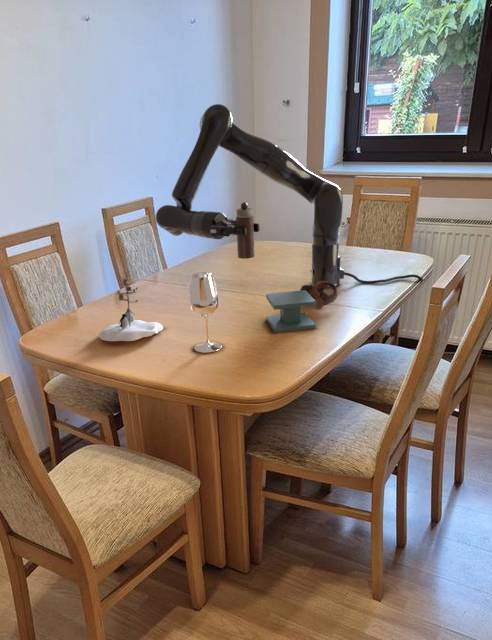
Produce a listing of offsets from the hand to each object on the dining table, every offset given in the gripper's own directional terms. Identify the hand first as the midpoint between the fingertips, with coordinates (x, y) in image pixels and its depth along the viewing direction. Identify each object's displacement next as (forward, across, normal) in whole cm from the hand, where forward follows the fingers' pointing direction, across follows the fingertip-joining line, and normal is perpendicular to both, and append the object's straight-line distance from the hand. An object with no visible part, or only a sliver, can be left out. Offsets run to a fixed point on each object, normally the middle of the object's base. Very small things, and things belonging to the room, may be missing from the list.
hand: (252, 229), depth 164 cm
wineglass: (+4, -25, +26) cm, 37 cm away
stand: (+12, +3, +26) cm, 29 cm away
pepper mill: (-3, 0, +8) cm, 8 cm away
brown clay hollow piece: (+8, +23, +26) cm, 36 cm away
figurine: (-23, -30, +27) cm, 46 cm away
